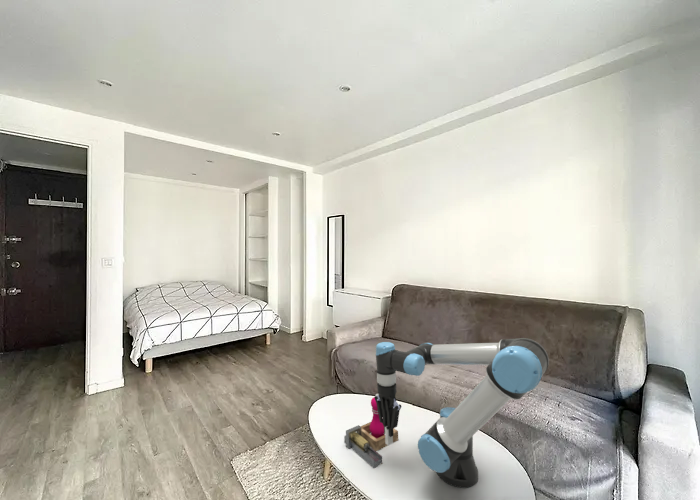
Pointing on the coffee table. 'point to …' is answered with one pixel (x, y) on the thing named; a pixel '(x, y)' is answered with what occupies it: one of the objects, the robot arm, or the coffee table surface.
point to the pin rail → (368, 456)
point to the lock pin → (360, 441)
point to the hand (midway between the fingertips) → (389, 443)
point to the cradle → (374, 442)
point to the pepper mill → (376, 421)
